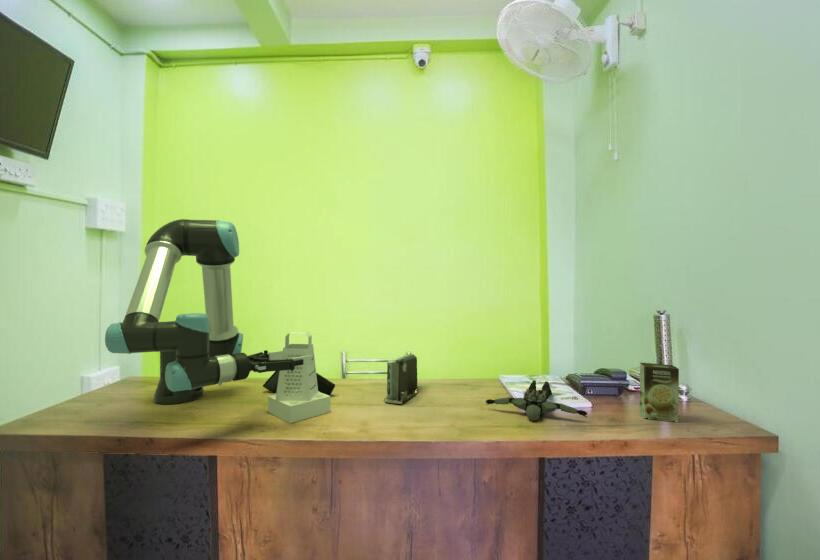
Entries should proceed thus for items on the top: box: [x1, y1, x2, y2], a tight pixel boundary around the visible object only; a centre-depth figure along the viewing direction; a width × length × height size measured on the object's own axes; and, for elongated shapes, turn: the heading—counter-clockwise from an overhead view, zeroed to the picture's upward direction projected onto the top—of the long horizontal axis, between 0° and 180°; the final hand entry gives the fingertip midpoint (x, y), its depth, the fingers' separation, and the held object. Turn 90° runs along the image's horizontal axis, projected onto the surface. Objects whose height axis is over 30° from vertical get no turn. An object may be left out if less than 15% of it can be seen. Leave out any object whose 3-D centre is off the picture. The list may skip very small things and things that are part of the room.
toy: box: [485, 379, 588, 422], centre depth 128 cm, size 30×8×30 cm
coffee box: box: [638, 362, 680, 422], centre depth 118 cm, size 9×6×16 cm
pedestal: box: [267, 390, 332, 424], centre depth 123 cm, size 14×14×5 cm
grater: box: [275, 331, 319, 401], centre depth 123 cm, size 10×10×20 cm
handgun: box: [262, 371, 336, 396], centre depth 142 cm, size 2×24×15 cm, turn 79°
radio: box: [383, 353, 418, 405], centre depth 141 cm, size 23×9×15 cm, turn 155°
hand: (298, 356), depth 123 cm, fingers open, 13 cm apart
